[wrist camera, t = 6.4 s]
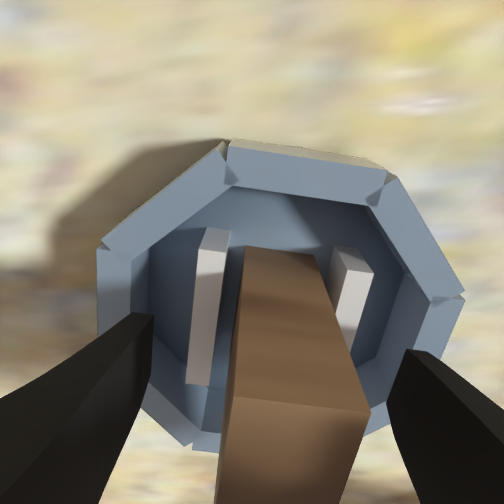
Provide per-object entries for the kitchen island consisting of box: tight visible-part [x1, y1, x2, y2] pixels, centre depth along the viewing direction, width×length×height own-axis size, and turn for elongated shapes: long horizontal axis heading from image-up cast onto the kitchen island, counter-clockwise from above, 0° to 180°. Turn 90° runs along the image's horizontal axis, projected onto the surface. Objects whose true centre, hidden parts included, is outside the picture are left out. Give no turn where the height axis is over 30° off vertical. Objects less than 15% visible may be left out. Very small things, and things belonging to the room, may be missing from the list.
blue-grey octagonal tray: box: [96, 138, 465, 453], centre depth 13 cm, size 11×11×2 cm
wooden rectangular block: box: [214, 245, 371, 504], centre depth 10 cm, size 4×2×7 cm, turn 172°
